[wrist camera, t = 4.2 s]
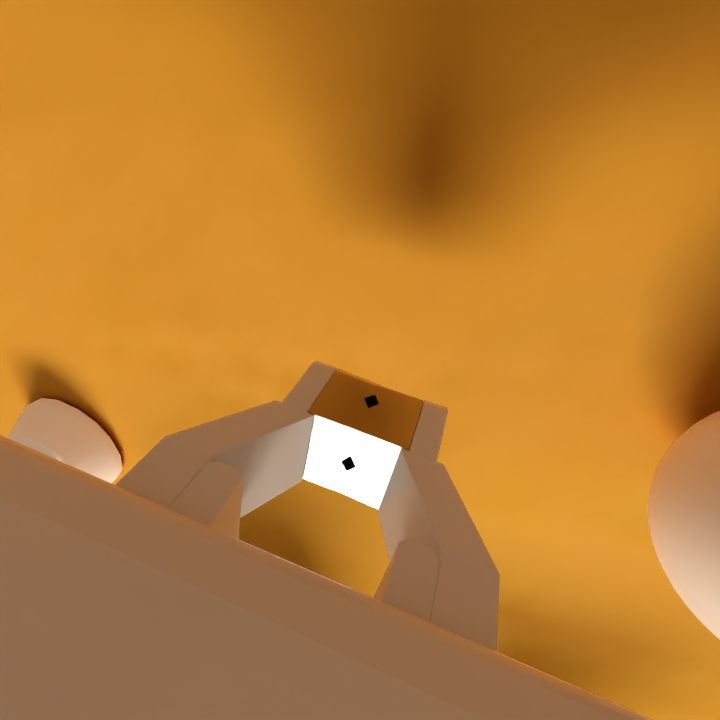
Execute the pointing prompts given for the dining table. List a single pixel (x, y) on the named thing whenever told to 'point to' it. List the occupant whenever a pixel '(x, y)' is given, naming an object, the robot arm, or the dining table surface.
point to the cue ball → (690, 518)
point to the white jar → (68, 438)
